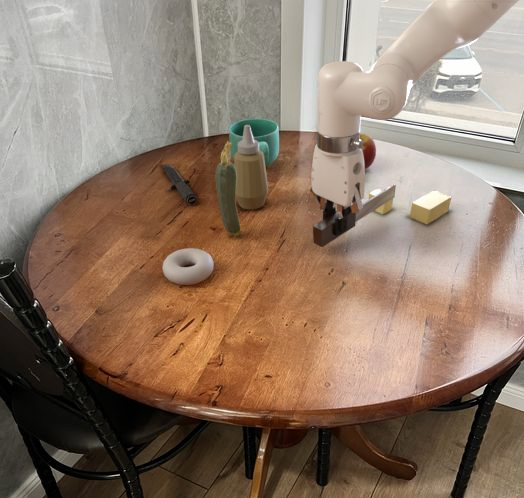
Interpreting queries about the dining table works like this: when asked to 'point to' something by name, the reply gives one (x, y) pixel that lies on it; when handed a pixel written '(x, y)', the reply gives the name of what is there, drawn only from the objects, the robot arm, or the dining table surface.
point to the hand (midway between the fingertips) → (334, 229)
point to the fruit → (368, 150)
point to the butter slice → (384, 207)
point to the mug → (257, 137)
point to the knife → (181, 185)
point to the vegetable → (227, 191)
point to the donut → (188, 275)
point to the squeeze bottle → (250, 172)
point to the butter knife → (350, 217)
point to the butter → (430, 207)
